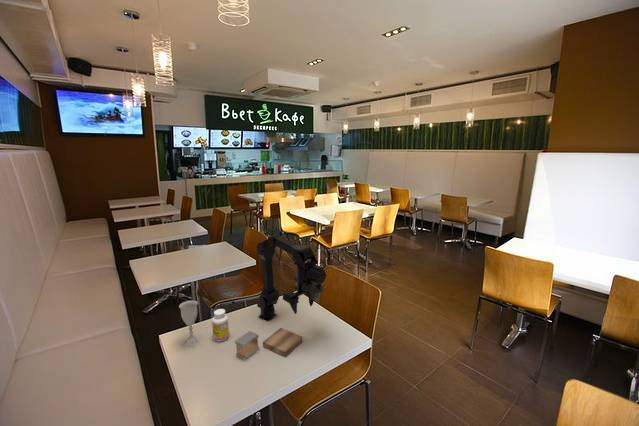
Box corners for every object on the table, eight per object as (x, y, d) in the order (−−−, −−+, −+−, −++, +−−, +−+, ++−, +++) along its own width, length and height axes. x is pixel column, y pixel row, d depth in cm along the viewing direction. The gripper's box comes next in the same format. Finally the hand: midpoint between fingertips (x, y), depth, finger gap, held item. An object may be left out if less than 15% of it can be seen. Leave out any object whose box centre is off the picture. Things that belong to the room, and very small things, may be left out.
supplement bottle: (210, 337, 131) (208, 311, 128) (224, 331, 136) (222, 305, 133) (218, 344, 126) (216, 317, 124) (231, 337, 131) (230, 311, 128)
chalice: (183, 349, 123) (179, 310, 119) (182, 340, 129) (178, 302, 125) (201, 344, 126) (198, 306, 122) (200, 335, 132) (197, 299, 128)
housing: (236, 356, 120) (235, 340, 118) (250, 345, 126) (249, 330, 125) (244, 360, 117) (244, 345, 116) (258, 349, 124) (258, 334, 122)
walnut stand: (263, 347, 125) (262, 341, 125) (280, 332, 135) (280, 327, 135) (285, 357, 119) (285, 351, 119) (302, 341, 129) (302, 336, 129)
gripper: (299, 289, 113) (299, 326, 117) (332, 275, 126) (331, 308, 130) (281, 280, 121) (282, 314, 124) (314, 268, 134) (313, 299, 137)
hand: (303, 309), depth 129 cm, fingers open, 9 cm apart
